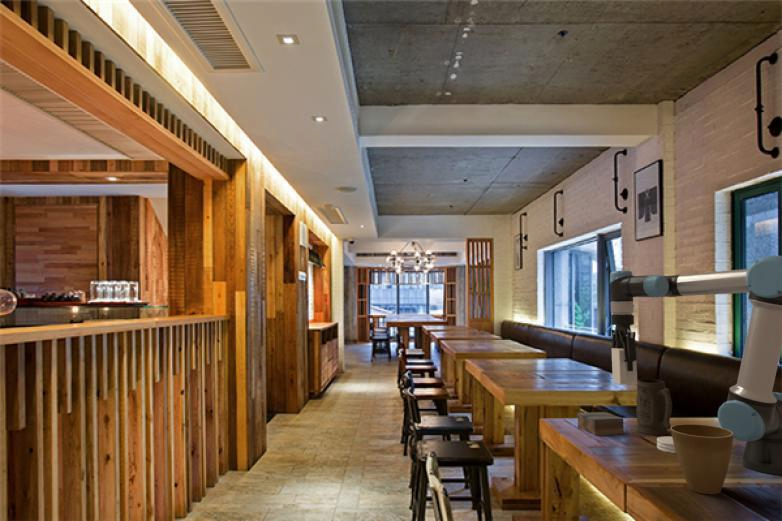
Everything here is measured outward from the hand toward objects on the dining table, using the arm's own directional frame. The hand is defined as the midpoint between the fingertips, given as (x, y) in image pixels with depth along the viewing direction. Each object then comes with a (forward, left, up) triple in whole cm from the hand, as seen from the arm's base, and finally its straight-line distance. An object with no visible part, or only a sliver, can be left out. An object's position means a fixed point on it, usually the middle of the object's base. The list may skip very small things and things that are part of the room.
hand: (624, 378), depth 190 cm
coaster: (-7, -13, -23) cm, 27 cm away
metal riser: (+19, +1, -23) cm, 30 cm away
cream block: (0, 0, -1) cm, 1 cm away
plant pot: (-44, 0, -23) cm, 50 cm away
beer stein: (+14, -19, -23) cm, 33 cm away
